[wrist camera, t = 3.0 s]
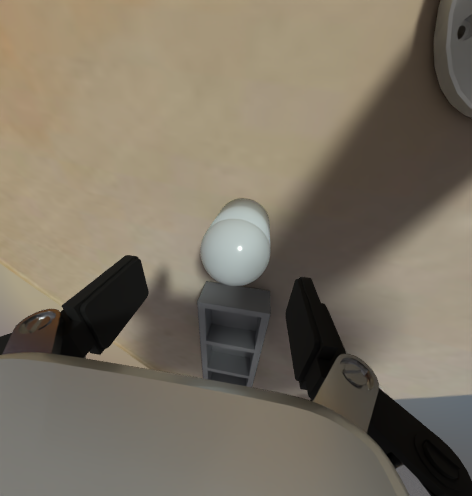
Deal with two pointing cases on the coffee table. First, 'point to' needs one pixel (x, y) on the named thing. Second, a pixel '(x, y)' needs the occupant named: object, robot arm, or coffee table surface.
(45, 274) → the coffee table surface
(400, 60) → the coffee table surface
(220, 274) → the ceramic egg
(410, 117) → the coffee table surface
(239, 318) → the grey compartment tray
